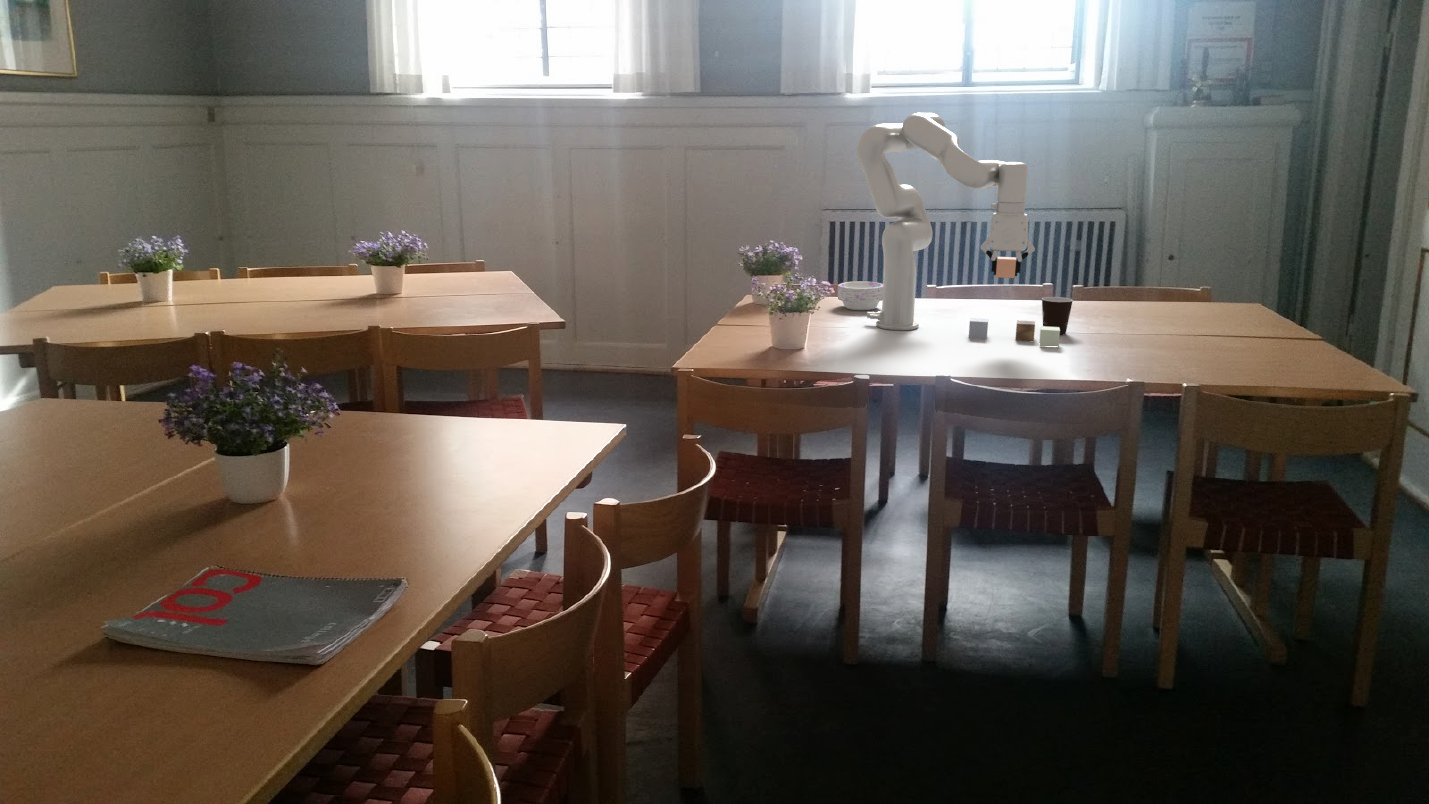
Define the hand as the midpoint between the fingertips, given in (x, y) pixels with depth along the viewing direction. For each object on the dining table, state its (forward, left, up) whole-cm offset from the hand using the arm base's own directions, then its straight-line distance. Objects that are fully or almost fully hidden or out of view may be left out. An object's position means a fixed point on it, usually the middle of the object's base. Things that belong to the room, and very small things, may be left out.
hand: (1005, 274), depth 306 cm
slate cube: (-6, +7, -20) cm, 22 cm away
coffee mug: (+16, +20, -20) cm, 32 cm away
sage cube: (+13, 0, -20) cm, 23 cm away
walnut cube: (+7, +7, -20) cm, 22 cm away
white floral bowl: (-45, +43, -20) cm, 66 cm away
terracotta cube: (0, 0, -1) cm, 1 cm away
